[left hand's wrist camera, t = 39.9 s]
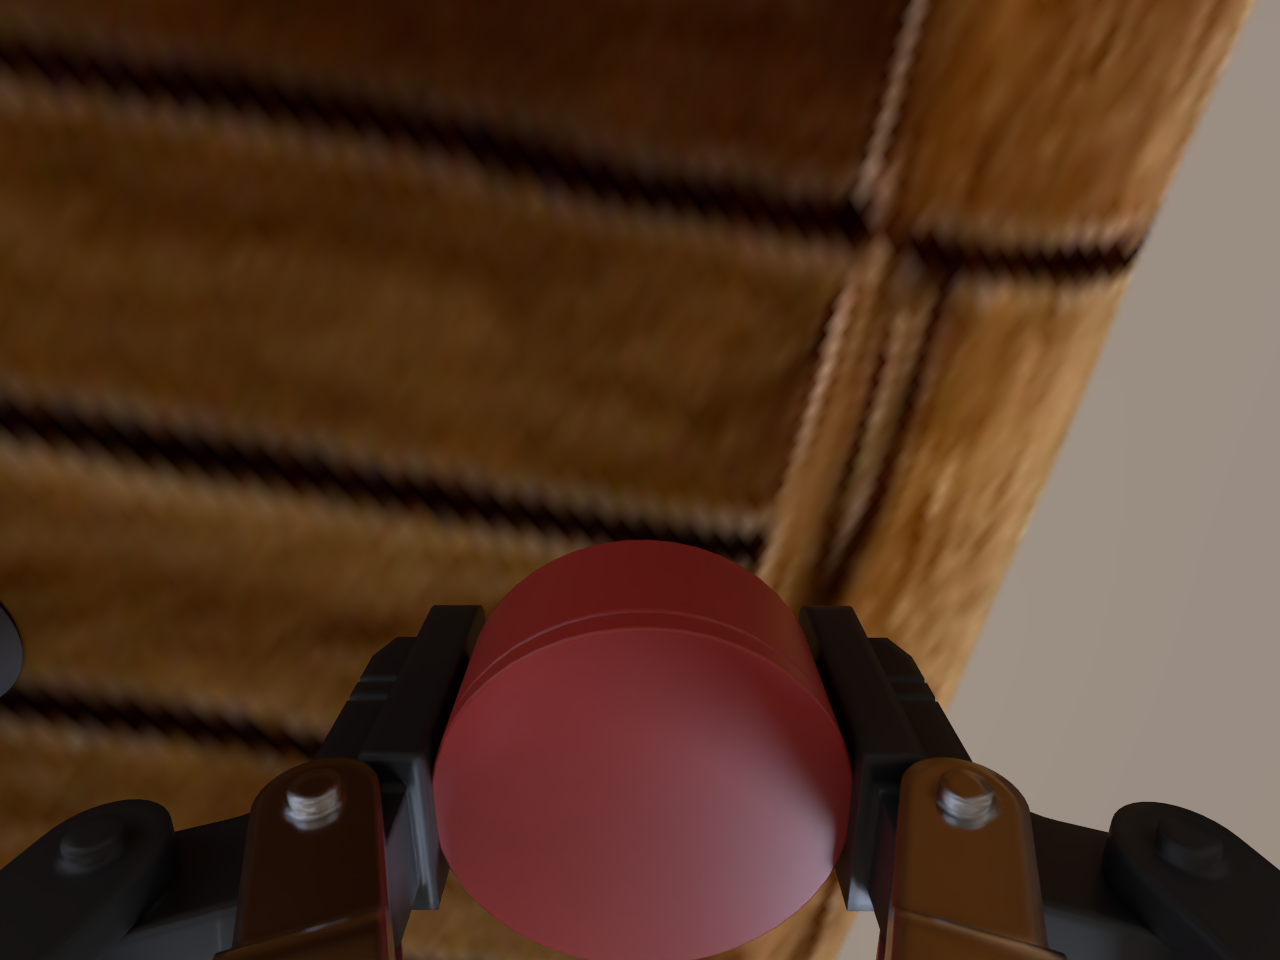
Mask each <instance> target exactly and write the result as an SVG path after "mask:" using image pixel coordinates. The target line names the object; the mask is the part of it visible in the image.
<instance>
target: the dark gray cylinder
mask: <svg viewBox="0 0 1280 960" xmlns="http://www.w3.org/2000/svg"><path fill="white" fill-rule="evenodd" d="M22 663H23V649H22V644H21V640H20V637H19V634H18V632H17V629H16V627H15V625H14V624H13V622H12V620H11V619H10V617H9V616H8V615H7V613H6V612H5V611H4V610H3V609H2V607H1V606H0V697H1V696H2V695H3V694H4V693H6V692H7V691H8V690H9V689H10V688H11V687H12V686H13V684H14V683H15V681H16V680H17V678H18V676H19V673H20V671H21V667H22Z"/></svg>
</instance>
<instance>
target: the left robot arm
mask: <svg viewBox="0 0 1280 960" xmlns="http://www.w3.org/2000/svg"><path fill="white" fill-rule="evenodd" d="M485 623H486V622H485V614H484V610H483V607H482V606H481V605H434V606H433V607H432V608H431V610H430V612H429V614H428V616H427V618H426V620H425V622H424V624H423V626H422V628H421V630H420V632H419V634H418V636H417V637H397V638H395V639H394V640H393V641H392V642H390V643H389V644H388V645H386V646H385V647H384V648H382V649H381V650H380V651H379V652H377V653H376V654H375V655H373V657H372V658H371V660H370V662H369V664H368V665H367V667H366V669H365V671H364V672H363V674H362V676H361V678H360V682H358V683H357V685H356V686H355V688H354V690H353V692H352V693H351V695H350V701H347V702H346V704H345V706H344V707H343V709H342V711H341V713H340V714H339V716H338V718H337V720H336V721H335V723H334V725H333V727H332V729H331V730H330V732H329V734H328V736H327V737H326V739H325V741H324V743H323V744H322V746H321V748H320V750H319V751H318V753H317V755H316V757H315V758H314V760H313V761H310V762H306V763H304V764H301V765H298V766H296V767H294V768H292V769H290V770H287V771H286V772H284V773H282V774H281V775H279V776H277V777H276V778H275V779H273V780H272V781H271V782H270V783H268V784H267V785H266V786H265V787H264V788H263V789H262V790H261V792H260V793H259V794H258V796H257V797H256V798H255V800H254V802H253V804H252V806H251V810H250V813H248V814H245V815H243V816H239V817H235V818H232V819H228V820H224V821H219V822H215V823H211V824H206V825H202V826H198V827H194V828H189V829H185V830H181V831H176V832H174V828H173V824H172V820H171V817H170V814H169V812H168V811H167V810H166V809H165V808H164V807H163V806H161V805H160V804H158V803H155V802H152V801H148V800H140V799H137V800H122V801H116V802H111V803H107V804H103V805H100V806H97V807H94V808H91V809H89V810H86V811H84V812H81V813H79V814H77V815H75V816H73V817H71V818H69V819H67V820H66V821H64V822H62V823H61V824H59V825H57V826H56V827H54V828H53V829H52V830H50V831H49V832H48V833H46V834H45V835H44V836H42V837H41V838H40V839H39V840H37V841H36V842H35V843H34V844H32V845H31V846H30V847H29V848H27V849H26V850H25V851H24V852H22V853H21V854H20V855H19V856H17V857H16V858H15V859H14V860H12V861H11V862H10V863H9V864H8V865H6V866H5V867H4V868H3V869H1V870H0V960H404V955H403V948H402V941H401V940H402V938H403V934H404V931H405V928H406V925H407V922H408V919H409V915H410V912H411V910H438V908H439V904H440V901H441V897H442V894H443V890H444V886H445V883H446V879H447V876H448V872H449V869H450V867H449V865H448V863H447V861H446V859H445V857H444V855H443V853H442V851H441V849H440V845H439V838H438V830H437V821H436V812H435V803H434V795H433V785H432V770H433V765H434V760H435V757H436V754H437V751H438V748H439V746H440V743H441V740H442V737H443V734H444V732H445V729H446V726H447V723H448V720H449V718H450V715H451V712H452V709H453V706H454V703H455V701H456V698H457V695H458V692H459V689H460V687H461V684H462V681H463V678H464V675H465V673H466V670H467V667H468V664H469V661H470V659H471V656H472V653H473V650H474V647H475V645H476V642H477V639H478V636H479V634H480V632H481V630H482V628H483V627H484V625H485ZM798 623H799V625H800V626H801V628H802V631H803V633H804V635H805V638H806V640H807V642H808V644H809V647H810V650H811V652H812V655H813V658H814V660H815V663H816V666H817V669H818V671H819V674H820V677H821V679H822V682H823V685H824V688H825V690H826V693H827V696H828V698H829V701H830V704H831V706H832V709H833V712H834V715H835V717H836V720H837V723H838V725H839V728H840V731H841V734H842V736H843V739H844V742H845V744H846V747H847V750H848V754H849V757H850V761H851V765H852V769H853V782H852V792H851V801H850V809H849V818H848V826H847V835H846V842H845V847H844V849H843V851H842V854H841V856H840V859H839V861H838V862H837V864H836V866H835V870H836V874H837V877H838V881H839V884H840V888H841V891H842V895H843V898H844V902H845V905H846V909H847V911H874V912H875V915H876V918H877V921H878V924H879V928H880V934H879V941H878V948H877V955H876V960H1280V870H1279V869H1277V868H1276V867H1275V866H1274V865H1272V864H1271V863H1270V862H1269V861H1268V860H1266V859H1265V858H1264V857H1263V856H1261V855H1260V854H1259V853H1258V852H1256V851H1255V850H1254V849H1253V848H1251V847H1250V846H1249V845H1248V844H1246V843H1245V842H1244V841H1243V840H1241V839H1240V838H1239V837H1238V836H1236V835H1235V834H1234V833H1232V832H1231V831H1229V830H1228V829H1226V828H1225V827H1223V826H1222V825H1220V824H1218V823H1217V822H1215V821H1213V820H1211V819H1209V818H1207V817H1205V816H1203V815H1200V814H1198V813H1196V812H1193V811H1191V810H1188V809H1185V808H1181V807H1178V806H1174V805H1169V804H1165V803H1158V802H1138V803H1132V804H1129V805H1126V806H1124V807H1122V808H1120V809H1119V810H1118V811H1117V812H1116V813H1115V814H1114V816H1113V819H1112V822H1111V825H1110V829H1109V833H1108V832H1104V831H1100V830H1095V829H1091V828H1087V827H1082V826H1078V825H1074V824H1069V823H1065V822H1061V821H1057V820H1053V819H1049V818H1046V817H1042V816H1040V815H1037V814H1035V813H1032V812H1030V810H1029V806H1028V804H1027V802H1026V800H1025V798H1024V797H1023V796H1022V794H1021V793H1020V792H1019V790H1018V789H1017V788H1016V787H1015V786H1014V785H1013V784H1012V783H1010V782H1009V781H1008V780H1007V779H1005V778H1004V777H1003V776H1001V775H999V774H998V773H996V772H994V771H992V770H990V769H988V768H986V767H984V766H982V765H979V764H976V763H973V762H972V760H971V759H970V757H969V755H968V753H967V752H966V750H965V748H964V747H963V745H962V743H961V741H960V740H959V738H958V736H957V734H956V733H955V731H954V729H953V727H952V726H951V724H950V722H949V721H948V719H947V717H946V715H945V714H944V712H943V710H942V708H941V707H940V705H939V703H938V702H935V696H934V695H933V693H932V691H931V689H930V688H929V686H928V684H927V683H925V682H924V677H923V676H922V674H921V672H920V670H919V669H918V667H917V665H916V663H915V662H914V660H913V658H912V657H911V656H910V655H909V654H907V653H906V652H905V651H903V650H902V649H901V648H900V647H898V646H897V645H896V644H894V643H893V642H892V641H890V640H889V639H888V638H867V636H866V634H865V632H864V630H863V628H862V626H861V624H860V622H859V620H858V618H857V616H856V614H855V612H854V610H853V608H852V607H851V606H802V608H801V610H800V614H799V622H798Z"/></svg>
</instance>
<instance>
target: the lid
mask: <svg viewBox="0 0 1280 960" xmlns="http://www.w3.org/2000/svg"><path fill="white" fill-rule="evenodd" d="M852 782H853V769H852V765H851V761H850V757H849V754H848V750H847V747H846V744H845V742H844V739H843V736H842V734H841V731H840V728H839V725H838V723H837V720H836V717H835V715H834V712H833V709H832V706H831V704H830V701H829V698H828V696H827V693H826V690H825V688H824V685H823V682H822V679H821V677H820V674H819V671H818V669H817V666H816V663H815V660H814V658H813V655H812V652H811V650H810V647H809V644H808V642H807V640H806V638H805V635H804V633H803V631H802V628H801V626H800V625H799V623H798V622H797V620H796V618H795V617H794V615H793V614H792V612H791V610H790V609H789V608H788V607H787V605H786V604H785V603H784V602H783V601H782V600H781V598H780V597H779V596H778V595H777V594H776V593H775V592H774V591H773V590H772V589H771V588H770V587H769V586H767V585H766V584H765V583H764V582H763V581H762V580H761V579H760V578H758V577H757V576H755V575H754V574H752V573H751V572H749V571H748V570H746V569H745V568H743V567H742V566H740V565H738V564H736V563H734V562H732V561H730V560H728V559H726V558H724V557H722V556H720V555H717V554H714V553H712V552H709V551H706V550H703V549H700V548H697V547H693V546H689V545H684V544H679V543H675V542H666V541H656V540H625V541H618V542H611V543H604V544H599V545H595V546H592V547H588V548H584V549H581V550H577V551H575V552H572V553H570V554H567V555H565V556H563V557H560V558H558V559H555V560H553V561H552V562H550V563H548V564H546V565H545V566H543V567H541V568H539V569H538V570H536V571H534V572H533V573H532V574H530V575H529V576H528V577H526V578H525V579H524V580H522V581H521V582H520V583H518V584H517V585H516V586H515V587H514V588H513V589H512V590H511V591H510V592H509V593H508V594H507V595H506V596H505V597H504V598H503V599H502V600H501V601H500V603H499V604H498V605H497V607H496V608H495V609H494V611H493V612H492V613H491V615H490V616H489V617H488V619H487V621H486V623H485V625H484V627H483V628H482V630H481V632H480V634H479V636H478V639H477V642H476V645H475V647H474V650H473V653H472V656H471V659H470V661H469V664H468V667H467V670H466V673H465V675H464V678H463V681H462V684H461V687H460V689H459V692H458V695H457V698H456V701H455V703H454V706H453V709H452V712H451V715H450V718H449V720H448V723H447V726H446V729H445V732H444V734H443V737H442V740H441V743H440V746H439V748H438V751H437V754H436V757H435V760H434V765H433V770H432V785H433V795H434V803H435V812H436V821H437V830H438V838H439V845H440V849H441V851H442V853H443V855H444V857H445V859H446V861H447V863H448V865H449V867H450V869H451V870H452V872H453V873H454V875H455V876H456V878H457V879H458V880H459V882H460V883H461V885H462V886H463V888H464V889H465V890H466V891H467V892H468V893H469V894H470V895H471V896H472V897H473V899H474V900H475V901H476V902H477V903H478V904H479V905H480V906H481V907H483V908H484V909H485V910H486V911H487V912H488V913H490V914H491V915H492V916H493V917H494V918H496V919H497V920H498V921H500V922H501V923H503V924H504V925H506V926H507V927H509V928H510V929H512V930H513V931H515V932H516V933H518V934H520V935H522V936H524V937H526V938H528V939H530V940H532V941H534V942H536V943H538V944H540V945H543V946H546V947H548V948H551V949H553V950H556V951H559V952H561V953H565V954H568V955H572V956H576V957H579V958H583V959H588V960H695V959H700V958H705V957H709V956H712V955H716V954H719V953H722V952H725V951H728V950H731V949H734V948H736V947H739V946H741V945H743V944H745V943H748V942H750V941H752V940H754V939H757V938H758V937H760V936H762V935H764V934H765V933H767V932H769V931H770V930H772V929H774V928H776V927H777V926H779V925H780V924H781V923H783V922H784V921H785V920H787V919H788V918H790V917H791V916H792V915H794V914H795V913H796V912H797V911H798V910H799V909H800V908H801V907H803V906H804V905H805V904H806V903H807V902H808V901H809V900H810V899H811V898H812V897H813V896H814V895H815V894H816V892H817V891H818V890H819V889H820V887H821V886H822V885H823V884H824V883H825V881H826V880H827V879H828V877H829V875H830V874H831V872H832V870H833V869H834V867H835V866H836V864H837V862H838V861H839V859H840V856H841V854H842V851H843V849H844V847H845V842H846V835H847V826H848V818H849V809H850V801H851V792H852Z"/></svg>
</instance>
